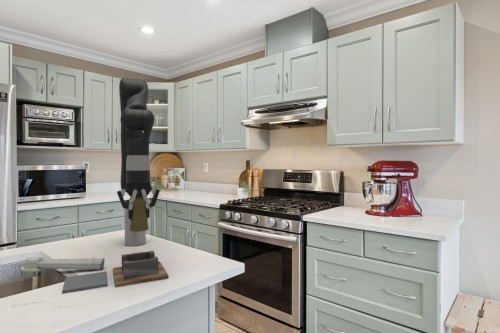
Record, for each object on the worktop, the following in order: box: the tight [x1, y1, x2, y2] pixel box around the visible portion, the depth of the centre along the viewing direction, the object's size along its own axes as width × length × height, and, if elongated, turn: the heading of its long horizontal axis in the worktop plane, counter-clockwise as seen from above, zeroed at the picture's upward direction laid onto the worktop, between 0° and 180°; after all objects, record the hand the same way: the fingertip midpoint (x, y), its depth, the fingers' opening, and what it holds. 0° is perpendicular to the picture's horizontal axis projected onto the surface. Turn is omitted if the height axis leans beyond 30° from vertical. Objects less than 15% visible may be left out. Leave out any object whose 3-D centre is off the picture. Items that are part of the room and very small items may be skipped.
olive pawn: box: [130, 197, 150, 232], centre depth 105 cm, size 6×6×11 cm
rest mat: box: [61, 271, 109, 294], centre depth 99 cm, size 12×12×1 cm
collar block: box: [112, 250, 169, 288], centre depth 106 cm, size 16×16×6 cm
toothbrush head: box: [20, 256, 105, 279], centre depth 108 cm, size 5×7×25 cm
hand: (138, 219), depth 105 cm, fingers closed on olive pawn, 4 cm apart
